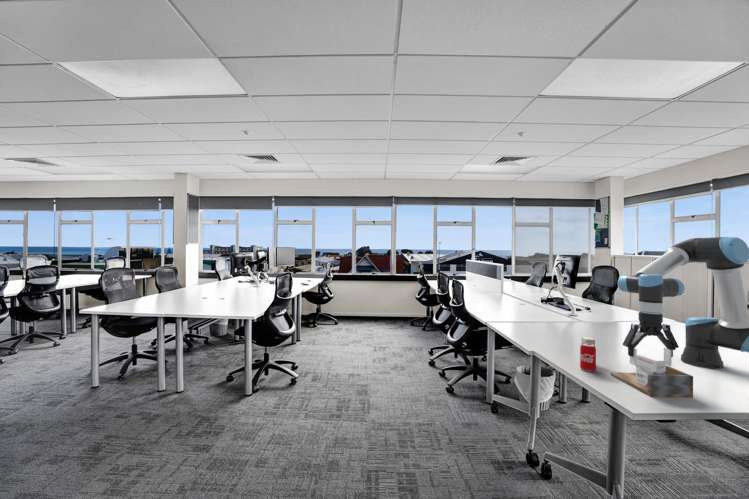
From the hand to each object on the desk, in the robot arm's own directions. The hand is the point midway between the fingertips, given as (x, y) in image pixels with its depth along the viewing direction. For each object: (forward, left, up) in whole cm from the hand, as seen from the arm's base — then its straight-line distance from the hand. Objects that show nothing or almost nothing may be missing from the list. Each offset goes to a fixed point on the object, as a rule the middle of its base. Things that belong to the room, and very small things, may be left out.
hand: (650, 364), depth 133 cm
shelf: (-2, -4, -10) cm, 11 cm away
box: (+7, -29, -10) cm, 32 cm away
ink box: (0, 0, -9) cm, 9 cm away
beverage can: (+12, -21, -10) cm, 26 cm away
